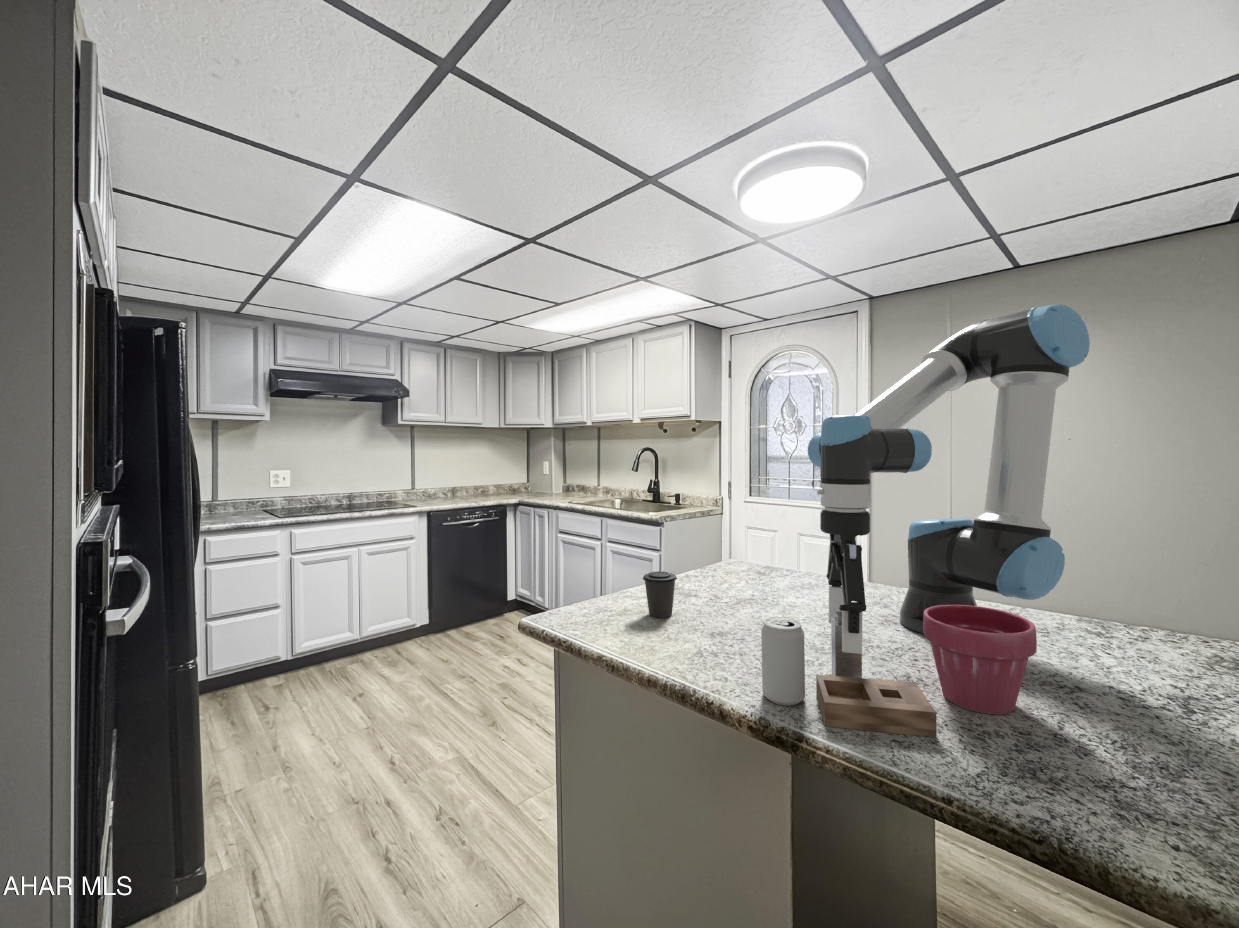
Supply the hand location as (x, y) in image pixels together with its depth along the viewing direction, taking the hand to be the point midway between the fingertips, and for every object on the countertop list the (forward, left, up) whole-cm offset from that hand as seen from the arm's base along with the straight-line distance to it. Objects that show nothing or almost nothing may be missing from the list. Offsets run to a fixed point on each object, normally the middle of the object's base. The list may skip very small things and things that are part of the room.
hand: (843, 636), depth 86 cm
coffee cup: (+36, -28, -8) cm, 46 cm away
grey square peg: (0, 0, -8) cm, 8 cm away
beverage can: (+10, +8, -8) cm, 15 cm away
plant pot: (-18, +3, -8) cm, 20 cm away
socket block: (-2, +11, -7) cm, 13 cm away
